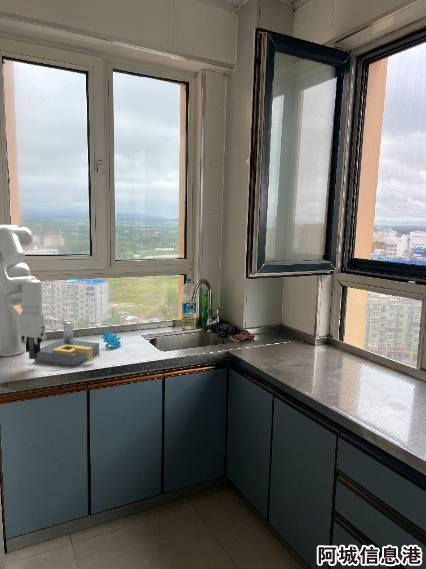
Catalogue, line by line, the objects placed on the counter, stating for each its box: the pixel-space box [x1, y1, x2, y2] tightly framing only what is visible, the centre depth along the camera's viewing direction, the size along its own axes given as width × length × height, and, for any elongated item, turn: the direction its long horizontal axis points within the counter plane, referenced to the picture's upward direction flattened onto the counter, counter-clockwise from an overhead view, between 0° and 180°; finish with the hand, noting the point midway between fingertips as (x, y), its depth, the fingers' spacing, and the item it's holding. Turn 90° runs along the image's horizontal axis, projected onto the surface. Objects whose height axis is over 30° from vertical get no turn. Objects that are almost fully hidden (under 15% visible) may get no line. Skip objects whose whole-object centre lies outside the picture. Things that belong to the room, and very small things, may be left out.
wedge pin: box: [28, 337, 37, 360], centre depth 178 cm, size 3×3×12 cm
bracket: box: [53, 344, 94, 361], centre depth 188 cm, size 16×9×5 cm, turn 73°
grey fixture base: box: [33, 320, 100, 368], centre depth 193 cm, size 20×20×15 cm
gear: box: [101, 331, 122, 350], centre depth 211 cm, size 11×6×10 cm
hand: (33, 351), depth 179 cm, fingers closed on wedge pin, 3 cm apart
